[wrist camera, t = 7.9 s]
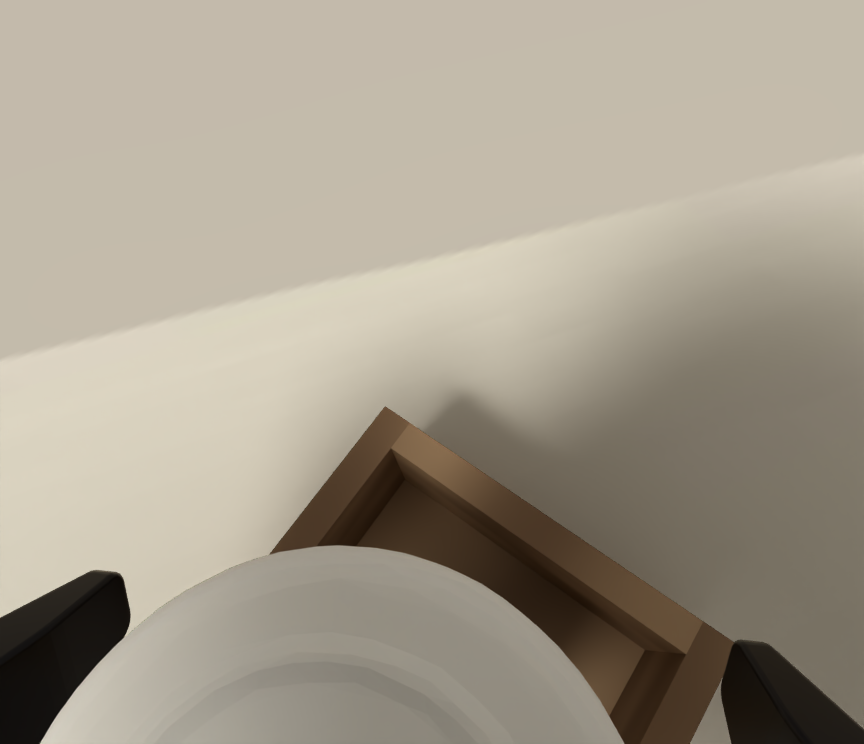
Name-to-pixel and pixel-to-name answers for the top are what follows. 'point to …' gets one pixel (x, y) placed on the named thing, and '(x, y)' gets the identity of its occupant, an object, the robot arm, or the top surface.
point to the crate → (524, 574)
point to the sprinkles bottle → (335, 663)
